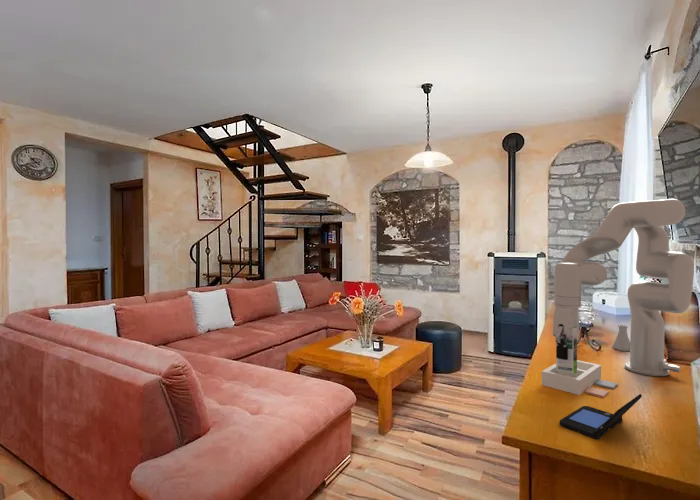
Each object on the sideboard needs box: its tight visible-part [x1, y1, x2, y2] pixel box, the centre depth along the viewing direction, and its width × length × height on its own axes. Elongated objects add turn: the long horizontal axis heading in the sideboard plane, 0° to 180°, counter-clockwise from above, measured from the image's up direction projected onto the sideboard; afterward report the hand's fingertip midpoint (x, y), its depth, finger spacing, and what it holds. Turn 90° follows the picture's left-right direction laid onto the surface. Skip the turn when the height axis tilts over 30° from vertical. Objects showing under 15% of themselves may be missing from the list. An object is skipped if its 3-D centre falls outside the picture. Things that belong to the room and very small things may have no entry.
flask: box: [611, 324, 630, 352], centre depth 163 cm, size 7×7×10 cm
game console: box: [559, 393, 643, 441], centre depth 97 cm, size 16×14×9 cm
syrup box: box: [555, 326, 578, 374], centre depth 124 cm, size 6×6×14 cm
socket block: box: [541, 359, 618, 399], centre depth 125 cm, size 16×20×4 cm
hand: (566, 355), depth 124 cm, fingers closed on syrup box, 7 cm apart
